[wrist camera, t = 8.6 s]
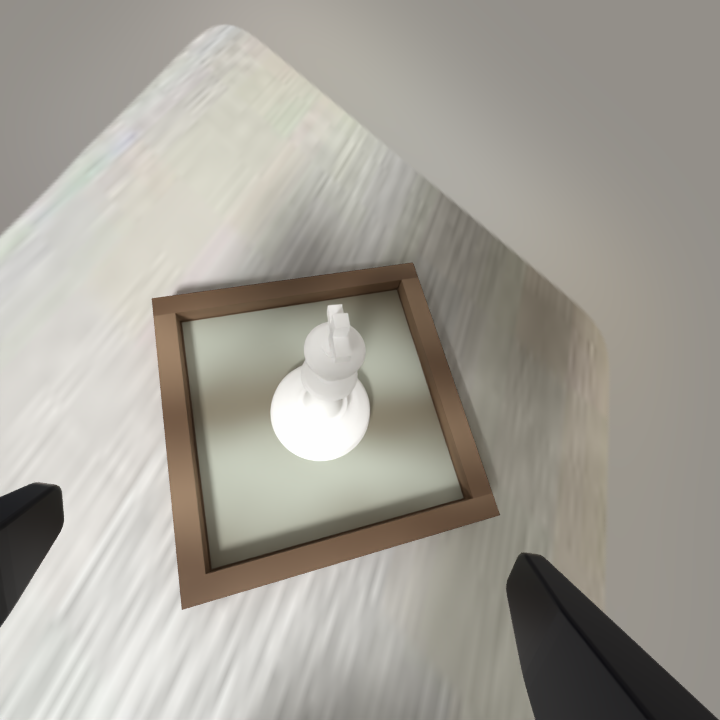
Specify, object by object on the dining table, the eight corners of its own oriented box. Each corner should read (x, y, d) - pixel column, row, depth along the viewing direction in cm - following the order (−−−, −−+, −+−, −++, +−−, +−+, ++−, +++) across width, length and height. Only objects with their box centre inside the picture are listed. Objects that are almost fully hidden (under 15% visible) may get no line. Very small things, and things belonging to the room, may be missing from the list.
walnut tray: (485, 515, 21) (499, 515, 19) (191, 602, 18) (182, 609, 16) (405, 277, 25) (413, 262, 24) (161, 313, 22) (151, 298, 21)
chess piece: (360, 360, 22) (407, 242, 13) (377, 453, 20) (445, 394, 11) (266, 370, 21) (243, 251, 12) (275, 468, 19) (258, 418, 10)
